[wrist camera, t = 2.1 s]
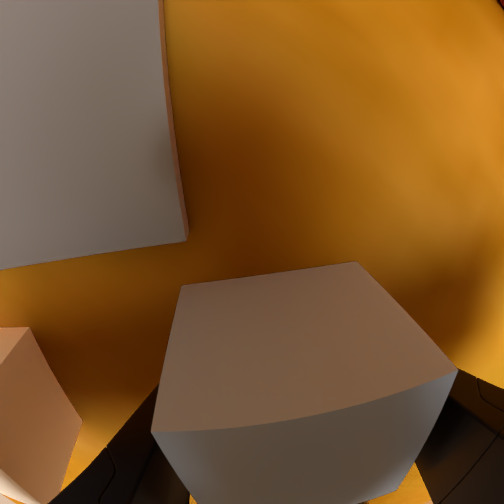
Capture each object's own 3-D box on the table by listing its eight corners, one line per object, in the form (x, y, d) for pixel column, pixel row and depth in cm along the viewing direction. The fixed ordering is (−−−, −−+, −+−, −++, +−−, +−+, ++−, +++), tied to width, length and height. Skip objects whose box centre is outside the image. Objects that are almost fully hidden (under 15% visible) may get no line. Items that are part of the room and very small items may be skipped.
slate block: (346, 382, 10) (395, 490, 6) (212, 403, 10) (215, 526, 6) (355, 259, 9) (458, 369, 4) (181, 283, 8) (150, 431, 4)
